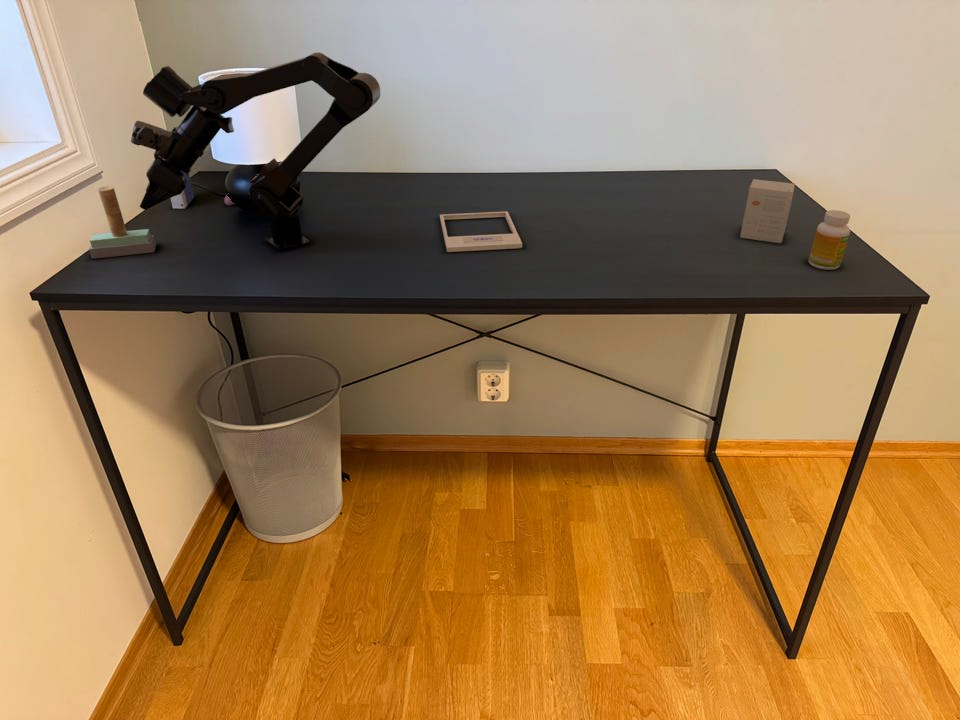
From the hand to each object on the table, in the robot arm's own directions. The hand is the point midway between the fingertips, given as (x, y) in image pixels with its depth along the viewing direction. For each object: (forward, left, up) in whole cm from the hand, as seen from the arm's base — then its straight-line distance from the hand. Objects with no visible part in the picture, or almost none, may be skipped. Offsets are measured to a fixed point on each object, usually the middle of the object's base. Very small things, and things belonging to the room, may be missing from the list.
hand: (145, 200), depth 129 cm
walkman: (+24, -12, -10) cm, 29 cm away
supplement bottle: (-83, -95, -10) cm, 127 cm away
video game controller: (+17, -24, -10) cm, 31 cm away
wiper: (+2, +6, -10) cm, 11 cm away
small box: (-68, -98, -10) cm, 120 cm away
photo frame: (-32, -54, -10) cm, 64 cm away
